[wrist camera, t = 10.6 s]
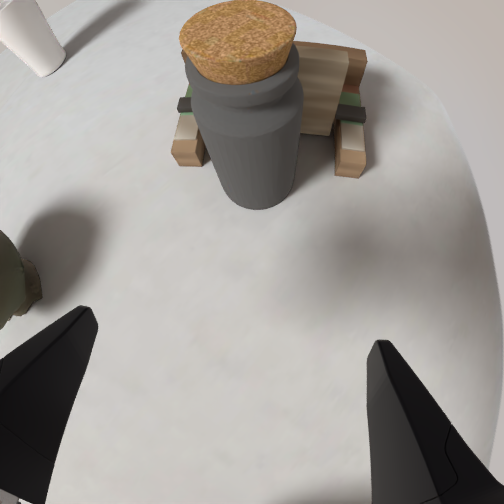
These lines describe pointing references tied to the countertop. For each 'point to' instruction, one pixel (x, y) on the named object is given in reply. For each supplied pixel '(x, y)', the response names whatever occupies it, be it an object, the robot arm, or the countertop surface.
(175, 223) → the countertop surface
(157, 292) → the countertop surface
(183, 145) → the wooden rack
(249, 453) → the countertop surface
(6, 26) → the drinking glass
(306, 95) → the wooden flat panel
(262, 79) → the bottle
